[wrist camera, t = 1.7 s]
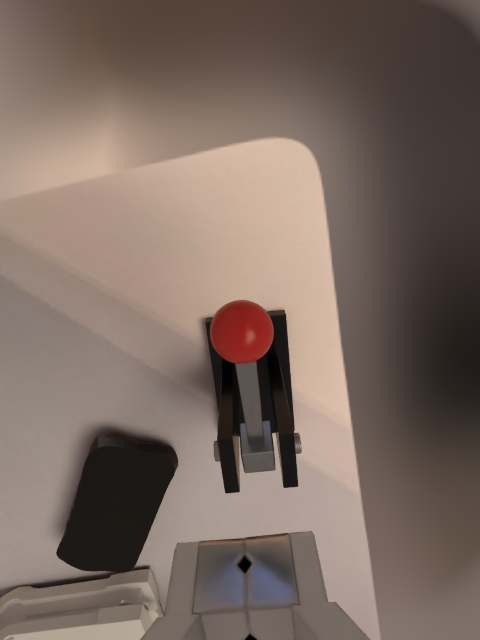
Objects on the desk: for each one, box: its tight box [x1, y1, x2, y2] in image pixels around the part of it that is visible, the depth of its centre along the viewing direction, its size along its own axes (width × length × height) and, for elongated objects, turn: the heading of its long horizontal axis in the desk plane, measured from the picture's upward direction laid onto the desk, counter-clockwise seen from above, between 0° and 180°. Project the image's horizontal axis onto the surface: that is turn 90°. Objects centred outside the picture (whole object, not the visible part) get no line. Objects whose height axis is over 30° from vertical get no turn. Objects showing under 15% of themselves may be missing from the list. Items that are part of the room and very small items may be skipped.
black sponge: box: [56, 433, 178, 573], centre depth 44 cm, size 16×8×4 cm, turn 159°
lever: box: [210, 300, 275, 473], centre depth 26 cm, size 15×3×3 cm, turn 6°
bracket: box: [206, 310, 301, 493], centre depth 35 cm, size 12×7×13 cm, turn 6°
